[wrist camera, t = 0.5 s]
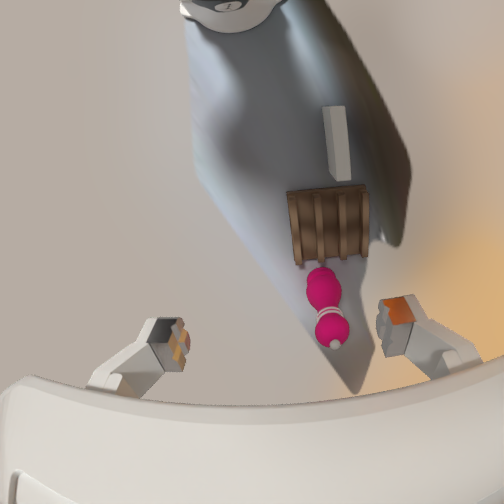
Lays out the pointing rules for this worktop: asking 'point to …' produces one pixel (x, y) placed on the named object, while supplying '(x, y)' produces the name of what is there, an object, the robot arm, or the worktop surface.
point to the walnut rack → (329, 222)
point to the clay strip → (337, 142)
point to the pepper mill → (327, 307)
